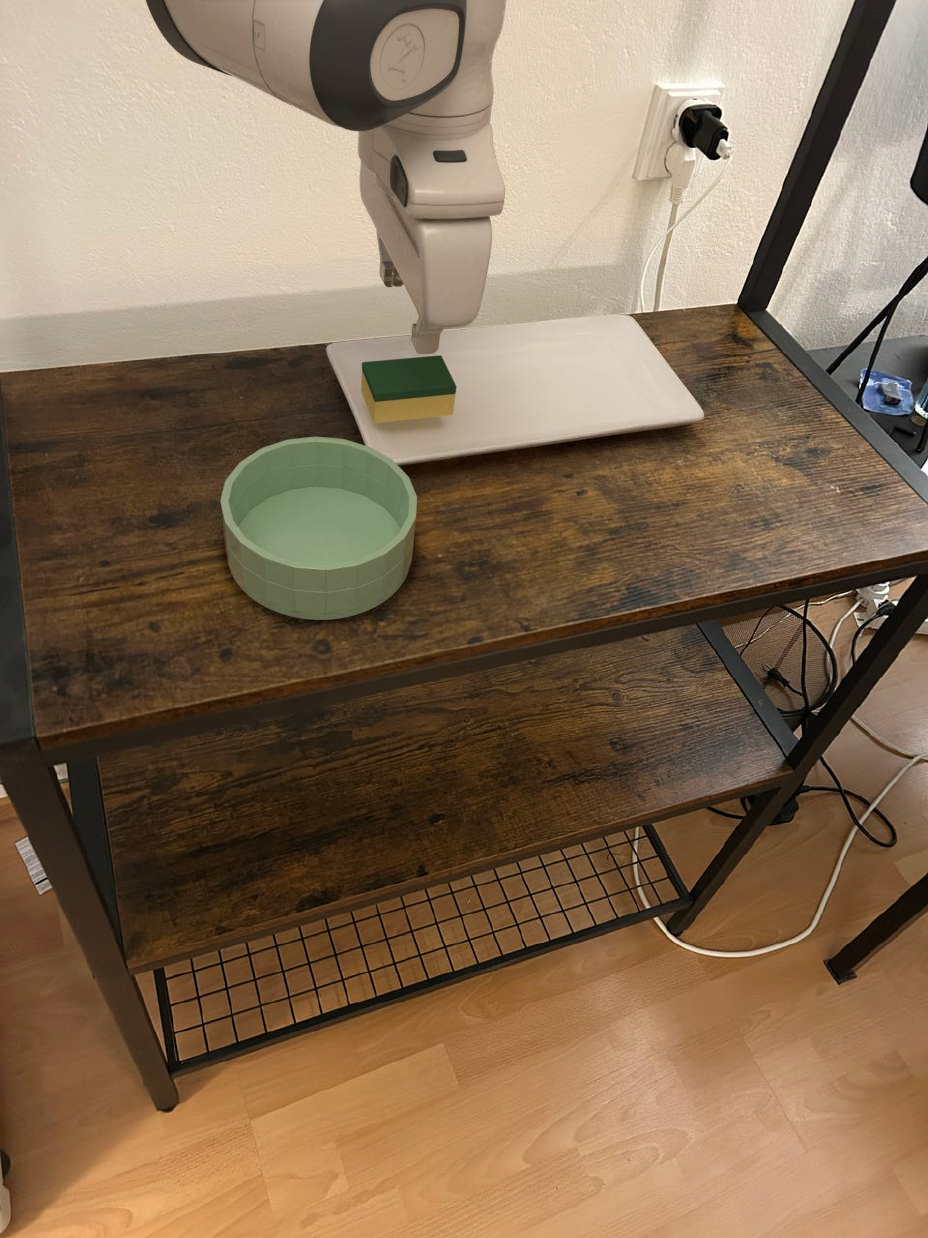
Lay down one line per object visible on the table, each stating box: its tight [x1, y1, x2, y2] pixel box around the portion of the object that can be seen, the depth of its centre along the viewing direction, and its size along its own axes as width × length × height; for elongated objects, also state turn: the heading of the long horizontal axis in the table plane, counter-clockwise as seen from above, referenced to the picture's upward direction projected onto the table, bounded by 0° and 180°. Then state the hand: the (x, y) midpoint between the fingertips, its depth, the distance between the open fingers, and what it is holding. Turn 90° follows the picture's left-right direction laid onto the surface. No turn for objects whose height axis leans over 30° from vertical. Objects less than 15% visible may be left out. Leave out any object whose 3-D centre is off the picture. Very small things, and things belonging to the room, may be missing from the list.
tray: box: [325, 314, 705, 467], centre depth 89 cm, size 17×31×4 cm, turn 109°
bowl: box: [219, 436, 418, 621], centre depth 73 cm, size 14×14×6 cm
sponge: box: [361, 355, 457, 423], centre depth 82 cm, size 7×4×3 cm, turn 108°
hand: (407, 314), depth 76 cm, fingers open, 8 cm apart
